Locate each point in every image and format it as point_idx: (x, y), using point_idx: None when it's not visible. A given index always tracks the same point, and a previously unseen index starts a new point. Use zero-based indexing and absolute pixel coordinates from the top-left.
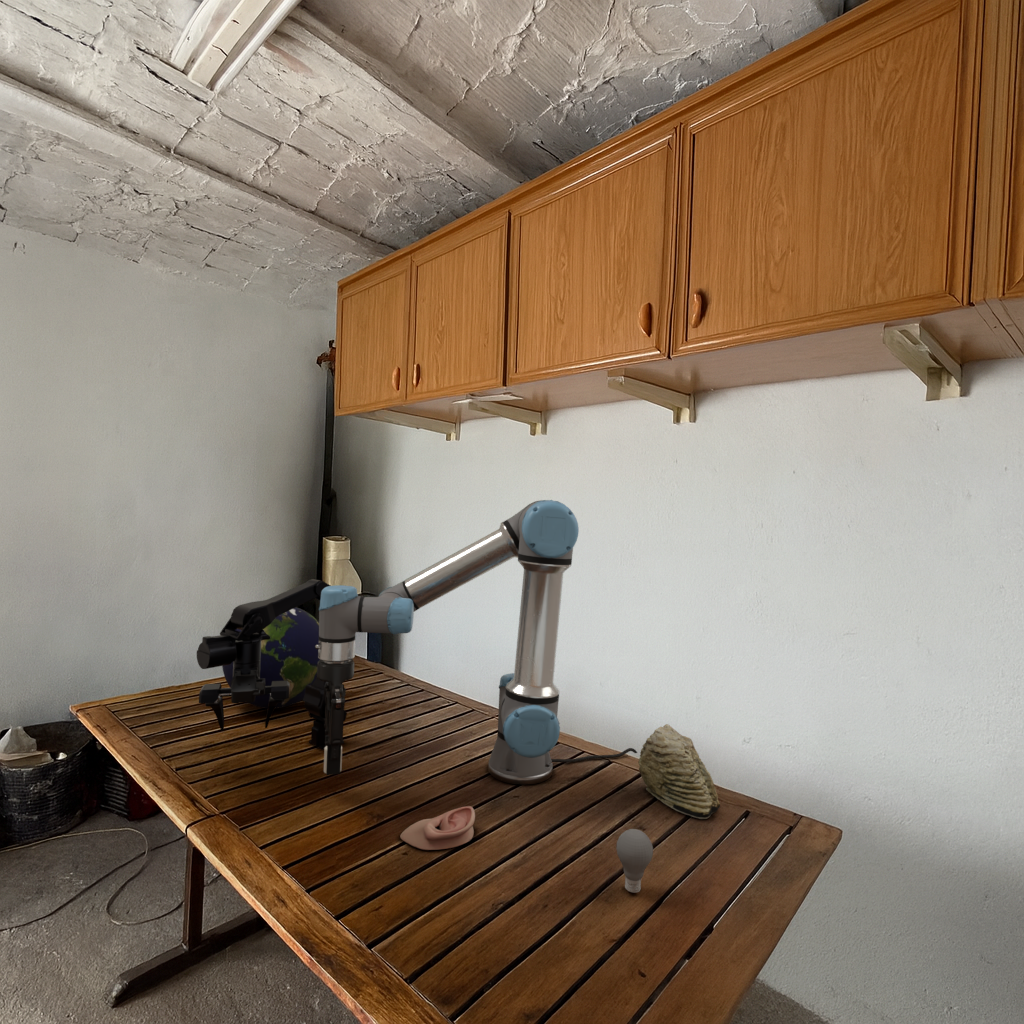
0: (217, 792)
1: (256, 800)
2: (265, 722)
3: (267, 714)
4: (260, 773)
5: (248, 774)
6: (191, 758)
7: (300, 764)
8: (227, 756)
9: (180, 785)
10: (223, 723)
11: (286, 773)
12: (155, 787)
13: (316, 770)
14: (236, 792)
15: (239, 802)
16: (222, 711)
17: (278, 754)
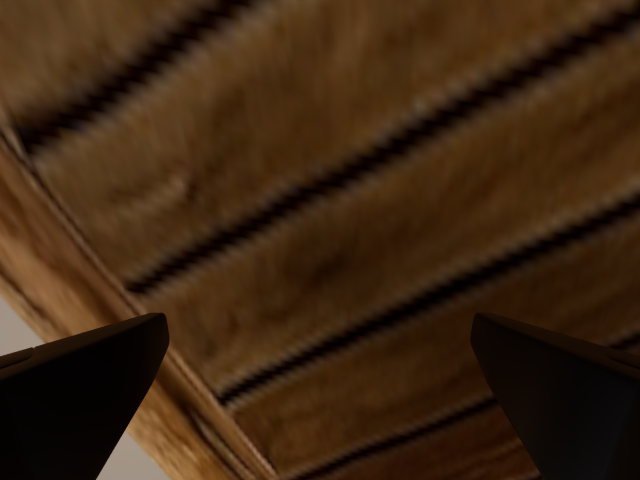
0: (251, 376)
1: (378, 444)
2: (488, 383)
3: (537, 459)
4: (392, 260)
5: (344, 260)
6: (37, 5)
7: (565, 205)
8: (222, 19)
9: (105, 302)
10: (146, 372)
11: (492, 281)
12: (18, 300)
13: (613, 278)
14: (313, 387)
15: (329, 445)
16: (68, 437)
17: (485, 51)
